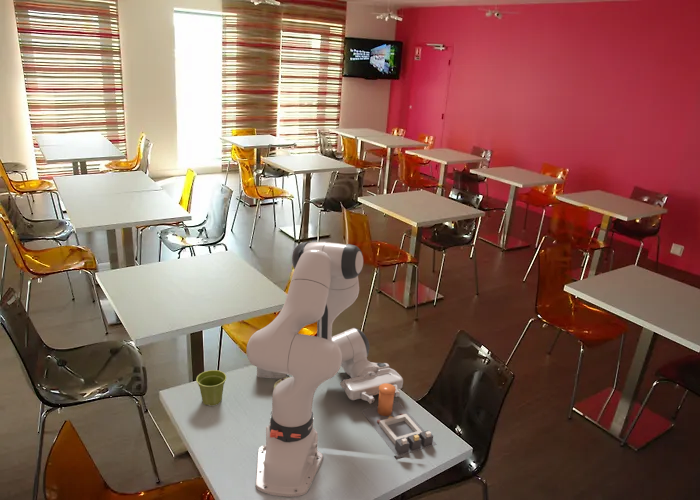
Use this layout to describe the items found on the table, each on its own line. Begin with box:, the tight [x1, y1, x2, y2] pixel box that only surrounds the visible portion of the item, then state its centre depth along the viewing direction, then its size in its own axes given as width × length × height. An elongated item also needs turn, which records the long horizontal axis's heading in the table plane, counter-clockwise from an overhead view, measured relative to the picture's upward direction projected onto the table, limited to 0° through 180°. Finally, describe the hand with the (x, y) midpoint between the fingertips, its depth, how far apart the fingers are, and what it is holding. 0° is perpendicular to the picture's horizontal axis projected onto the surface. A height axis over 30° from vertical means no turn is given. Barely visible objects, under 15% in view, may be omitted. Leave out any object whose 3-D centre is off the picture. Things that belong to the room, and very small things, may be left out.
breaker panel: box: [360, 400, 437, 460], centre depth 166 cm, size 23×14×5 cm, turn 26°
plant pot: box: [195, 369, 227, 406], centre depth 173 cm, size 9×9×9 cm
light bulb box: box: [256, 367, 288, 380], centre depth 190 cm, size 11×7×11 cm, turn 89°
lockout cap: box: [377, 383, 396, 416], centre depth 172 cm, size 5×5×9 cm
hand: (385, 398), depth 172 cm, fingers open, 8 cm apart
